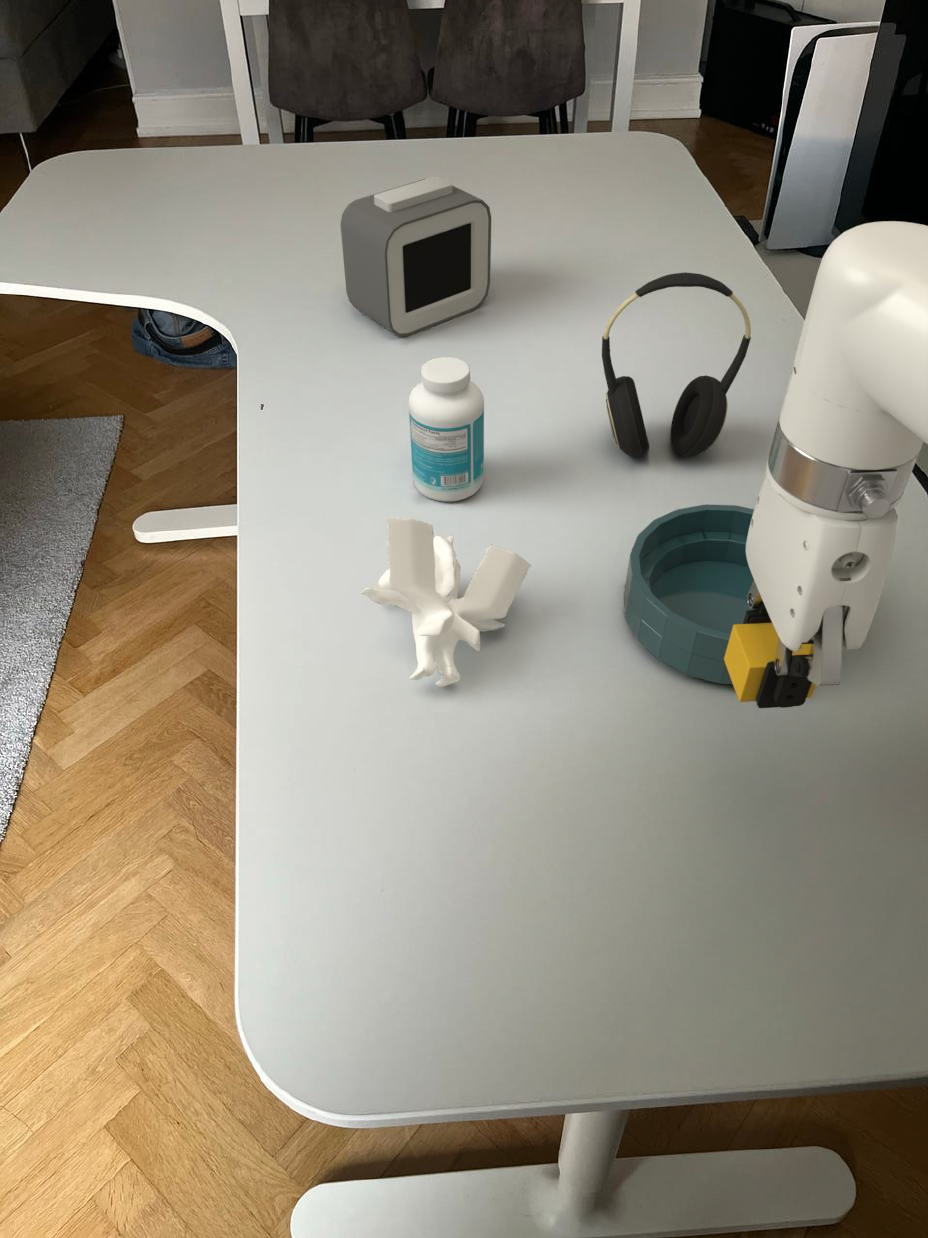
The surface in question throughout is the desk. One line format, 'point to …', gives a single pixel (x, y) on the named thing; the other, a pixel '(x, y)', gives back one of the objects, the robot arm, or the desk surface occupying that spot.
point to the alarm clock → (417, 254)
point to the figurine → (444, 593)
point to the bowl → (690, 587)
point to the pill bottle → (447, 431)
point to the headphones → (698, 403)
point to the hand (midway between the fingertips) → (769, 675)
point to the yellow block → (753, 657)
